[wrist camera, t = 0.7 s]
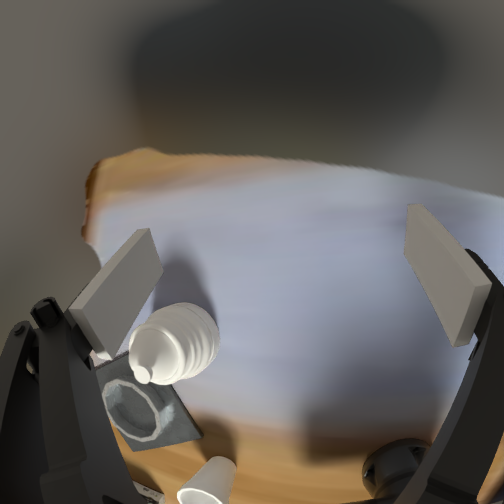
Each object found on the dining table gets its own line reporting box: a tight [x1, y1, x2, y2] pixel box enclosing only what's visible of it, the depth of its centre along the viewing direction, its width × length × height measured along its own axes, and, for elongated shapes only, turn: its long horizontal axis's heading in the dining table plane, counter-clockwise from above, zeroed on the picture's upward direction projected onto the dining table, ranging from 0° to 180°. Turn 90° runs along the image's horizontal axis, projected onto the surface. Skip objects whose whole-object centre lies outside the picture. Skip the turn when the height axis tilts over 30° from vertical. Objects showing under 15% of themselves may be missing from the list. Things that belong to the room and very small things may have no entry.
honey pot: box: [129, 302, 220, 385], centre depth 43 cm, size 13×13×18 cm
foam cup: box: [177, 456, 237, 504], centre depth 43 cm, size 10×9×13 cm
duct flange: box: [95, 354, 204, 452], centre depth 52 cm, size 22×22×4 cm
